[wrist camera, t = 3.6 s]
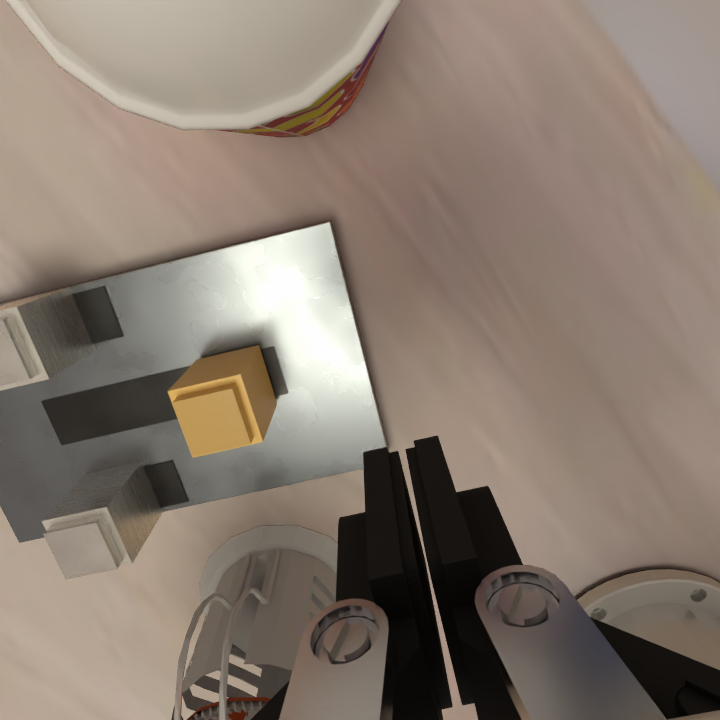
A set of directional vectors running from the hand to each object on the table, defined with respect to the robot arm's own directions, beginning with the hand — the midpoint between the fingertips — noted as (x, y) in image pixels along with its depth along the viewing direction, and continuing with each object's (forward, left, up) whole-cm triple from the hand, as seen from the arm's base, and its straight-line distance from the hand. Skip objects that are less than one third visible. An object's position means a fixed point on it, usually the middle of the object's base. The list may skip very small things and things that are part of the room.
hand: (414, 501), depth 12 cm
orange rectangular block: (+7, +1, -14) cm, 15 cm away
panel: (+11, +1, -15) cm, 19 cm away
